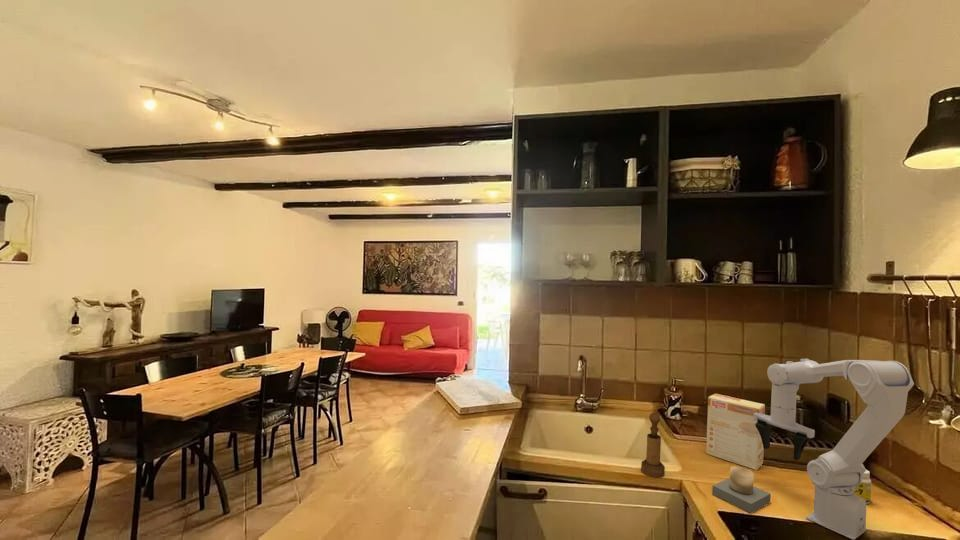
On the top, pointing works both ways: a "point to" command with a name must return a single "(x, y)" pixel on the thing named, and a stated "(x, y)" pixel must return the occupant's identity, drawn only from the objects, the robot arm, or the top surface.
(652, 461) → the mortar and pestle
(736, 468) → the beech peg
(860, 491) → the supplement bottle
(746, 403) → the coffeecake box
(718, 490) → the grey slotted base
